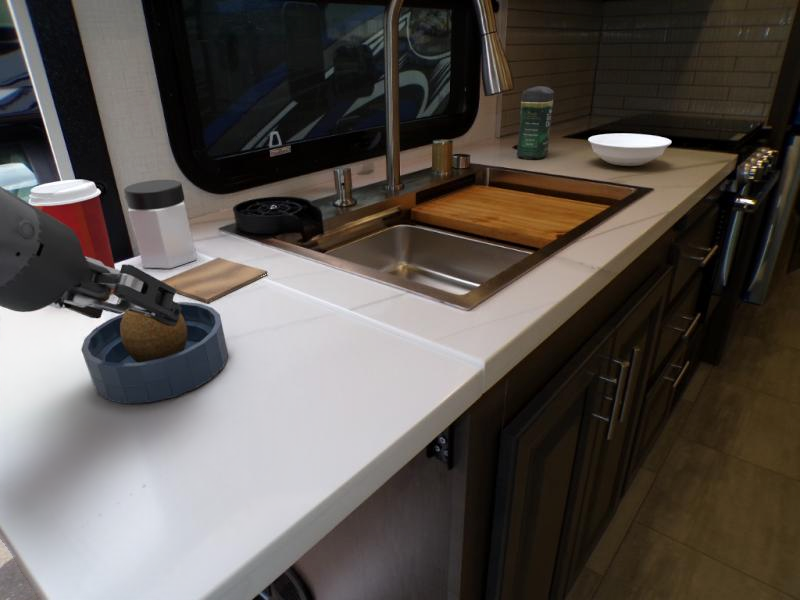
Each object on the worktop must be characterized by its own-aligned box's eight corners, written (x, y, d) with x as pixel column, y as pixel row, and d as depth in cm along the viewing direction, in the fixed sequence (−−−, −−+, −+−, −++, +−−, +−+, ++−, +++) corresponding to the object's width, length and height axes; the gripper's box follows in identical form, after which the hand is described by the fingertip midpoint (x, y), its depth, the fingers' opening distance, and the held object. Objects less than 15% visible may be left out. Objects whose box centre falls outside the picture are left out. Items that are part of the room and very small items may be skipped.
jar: (182, 246, 90) (166, 176, 84) (209, 256, 85) (194, 183, 80) (130, 262, 84) (110, 188, 78) (157, 274, 79) (137, 196, 74)
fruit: (117, 375, 54) (95, 307, 51) (161, 345, 59) (144, 281, 56) (165, 386, 52) (146, 316, 49) (206, 354, 57) (191, 288, 54)
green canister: (541, 161, 143) (547, 88, 135) (513, 158, 147) (518, 87, 139) (551, 154, 151) (558, 85, 142) (524, 152, 154) (529, 84, 146)
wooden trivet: (157, 286, 75) (156, 282, 75) (218, 261, 83) (218, 257, 83) (207, 303, 70) (206, 299, 69) (268, 274, 78) (267, 270, 77)
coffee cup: (108, 274, 79) (79, 175, 73) (138, 286, 75) (110, 182, 68) (50, 295, 73) (11, 189, 67) (79, 309, 69) (41, 198, 62)
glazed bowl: (69, 379, 54) (55, 342, 52) (178, 325, 64) (170, 292, 62) (144, 422, 48) (132, 382, 46) (253, 355, 58) (247, 319, 56)
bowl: (608, 154, 149) (611, 131, 146) (680, 163, 136) (685, 138, 133) (570, 165, 137) (573, 140, 134) (645, 177, 124) (650, 149, 121)
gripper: (-115, 285, 37) (64, 342, 52) (53, 301, 34) (192, 357, 49) (-71, 191, 39) (88, 272, 54) (90, 198, 36) (212, 282, 51)
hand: (137, 312), depth 51 cm, fingers open, 8 cm apart
